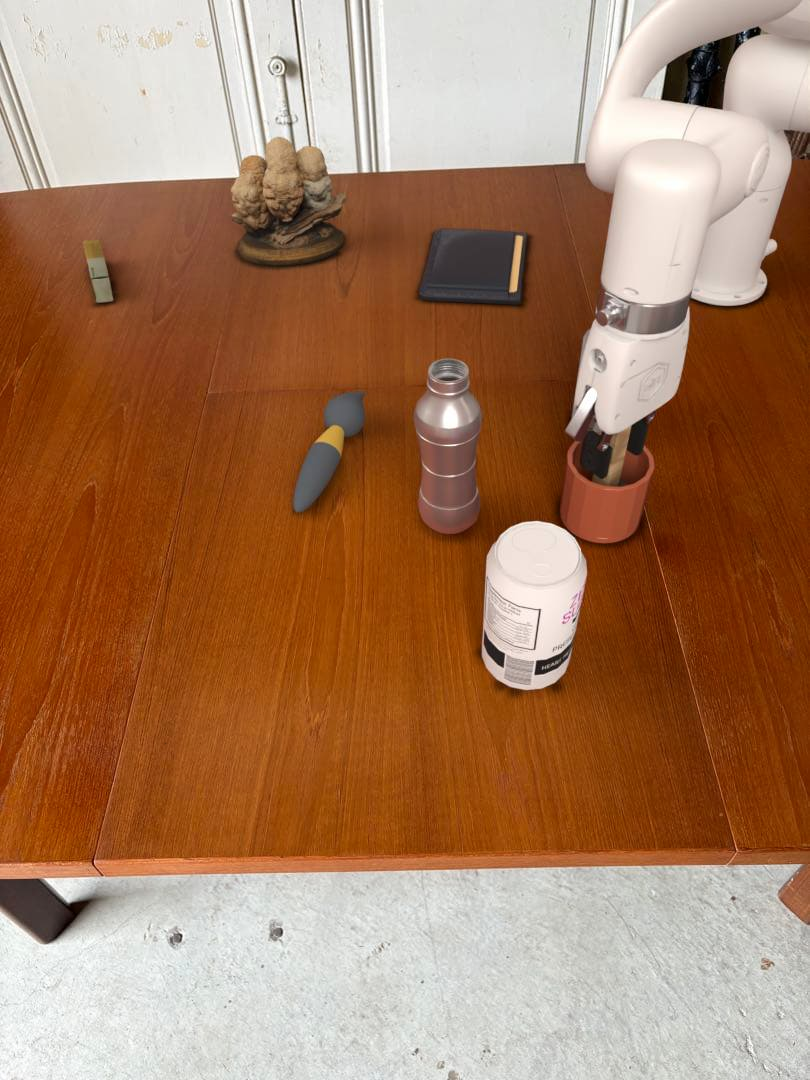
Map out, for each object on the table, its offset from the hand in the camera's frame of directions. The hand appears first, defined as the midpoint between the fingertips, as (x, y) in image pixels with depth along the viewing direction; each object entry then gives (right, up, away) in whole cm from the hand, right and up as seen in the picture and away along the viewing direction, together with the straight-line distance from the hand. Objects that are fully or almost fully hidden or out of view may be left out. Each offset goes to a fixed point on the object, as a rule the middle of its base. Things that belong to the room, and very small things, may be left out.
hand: (610, 457), depth 82 cm
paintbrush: (-29, +1, +14) cm, 32 cm away
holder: (0, -5, +6) cm, 8 cm away
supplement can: (-10, -19, -5) cm, 22 cm away
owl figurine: (-38, +38, +47) cm, 72 cm away
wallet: (-10, +33, +41) cm, 53 cm away
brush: (0, -5, +6) cm, 7 cm away
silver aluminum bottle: (-16, -6, +7) cm, 18 cm away
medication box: (-67, +31, +42) cm, 85 cm away
